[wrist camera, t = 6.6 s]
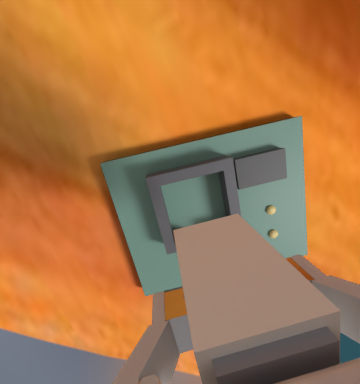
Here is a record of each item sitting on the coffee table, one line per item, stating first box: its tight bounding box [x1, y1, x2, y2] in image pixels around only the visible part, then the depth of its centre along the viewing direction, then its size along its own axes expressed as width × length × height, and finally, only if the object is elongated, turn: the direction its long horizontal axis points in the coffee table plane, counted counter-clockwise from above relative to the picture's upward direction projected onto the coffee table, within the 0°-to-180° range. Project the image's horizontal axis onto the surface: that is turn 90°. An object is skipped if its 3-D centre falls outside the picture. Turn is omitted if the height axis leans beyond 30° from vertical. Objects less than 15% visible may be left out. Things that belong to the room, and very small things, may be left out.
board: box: [100, 116, 308, 296], centre depth 21 cm, size 20×16×3 cm
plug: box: [173, 214, 340, 384], centre depth 9 cm, size 4×4×7 cm
